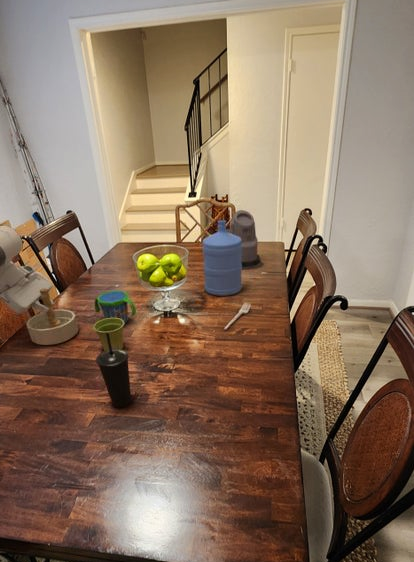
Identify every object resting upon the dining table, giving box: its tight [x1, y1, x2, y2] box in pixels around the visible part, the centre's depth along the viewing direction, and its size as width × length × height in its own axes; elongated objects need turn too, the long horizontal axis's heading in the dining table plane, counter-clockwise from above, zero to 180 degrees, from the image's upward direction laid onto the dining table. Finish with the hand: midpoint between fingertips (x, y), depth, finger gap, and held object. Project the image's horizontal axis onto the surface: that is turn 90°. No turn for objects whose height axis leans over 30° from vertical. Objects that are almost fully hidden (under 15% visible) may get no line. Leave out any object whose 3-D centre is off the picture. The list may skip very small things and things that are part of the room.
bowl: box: [25, 308, 80, 346], centre depth 127 cm, size 16×16×6 cm
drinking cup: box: [95, 333, 132, 408], centre depth 90 cm, size 8×8×20 cm
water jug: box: [202, 219, 243, 297], centre depth 150 cm, size 16×16×28 cm
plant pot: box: [92, 318, 125, 352], centre depth 117 cm, size 9×9×9 cm
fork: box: [223, 302, 252, 330], centre depth 133 cm, size 3×20×2 cm, turn 152°
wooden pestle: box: [40, 288, 61, 329], centre depth 124 cm, size 4×4×15 cm
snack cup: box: [94, 290, 137, 324], centre depth 132 cm, size 16×10×10 cm
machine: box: [226, 209, 263, 270], centre depth 183 cm, size 30×16×24 cm, turn 19°
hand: (50, 308), depth 123 cm, fingers closed on wooden pestle, 2 cm apart
